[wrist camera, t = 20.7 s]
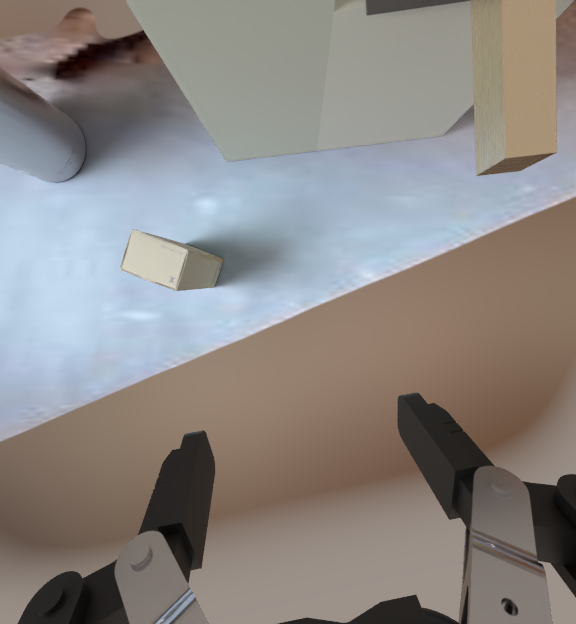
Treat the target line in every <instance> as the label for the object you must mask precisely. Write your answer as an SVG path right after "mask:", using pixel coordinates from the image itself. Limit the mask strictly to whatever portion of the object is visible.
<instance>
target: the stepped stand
mask: <svg viewBox="0 0 576 624" xmlns="http://www.w3.org/2000/svg"><path fill="white" fill-rule="evenodd" d="M125 1H126V3H127V4H128V6H129V7H130V9H131V10H132V12H133V14H134V15H135V17H136V18H137V20H138V21H139V23H140V25H141V26H142V28H143V30H144V31H145V33H146V35H147V36H148V38H149V39H150V41H151V43H152V44H153V46H154V47H155V49H156V51H157V52H158V54H159V55H160V57H161V59H162V60H163V62H164V63H165V65H166V66H167V68H168V70H169V71H170V73H171V74H172V76H173V78H174V79H175V81H176V82H177V84H178V86H179V87H180V89H181V90H182V92H183V94H184V95H185V97H186V98H187V100H188V102H189V103H190V105H191V106H192V108H193V110H194V111H195V113H196V114H197V116H198V118H199V119H200V121H201V122H202V124H203V126H204V127H205V129H206V130H207V132H208V134H209V135H210V137H211V138H212V140H213V142H214V143H215V145H216V146H217V148H218V150H219V151H220V153H221V154H222V156H223V158H224V159H225V161H226V162H230V161H239V160H247V159H255V158H264V157H272V156H280V155H289V154H297V153H305V152H314V151H322V150H330V149H339V148H347V147H355V146H363V145H372V144H380V143H388V142H397V141H405V140H413V139H422V138H430V137H438V136H443V135H444V134H445V133H446V132H447V131H448V130H449V129H450V128H451V127H452V126H453V125H454V124H455V123H456V122H457V121H458V119H459V118H460V117H461V116H462V115H463V114H464V113H465V112H466V111H467V110H468V109H469V108H470V107H471V106H472V105H473V104H474V90H473V58H472V26H471V0H125ZM573 1H574V0H556V19H557V18H558V17H559V16H560V15H561V14H562V13H563V12H564V11H565V10H566V9H567V7H568V6H569V5H570V4H571V3H572V2H573Z"/></svg>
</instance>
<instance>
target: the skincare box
mask: <svg viewBox="0 0 576 624" xmlns="http://www.w3.org/2000/svg"><path fill="white" fill-rule="evenodd" d="M223 260H224V259H222V258H220V257H217V256H215V255H212V254H210V253H207V252H205V251H202V250H200V249H197V248H194V247H192V246H189V245H186V244H183V243H180V242H176V241H173V240H169V239H166V238H162V237H159V236H155V235H152V234H148V233H144V232H141V231H137V230H134V229H133V230H132V231H131V234H130V237H129V240H128V243H127V246H126V250H125V253H124V256H123V259H122V263H121V266H120V269H121V270H122V271H124V272H127V273H129V274H131V275H134V276H137V277H139V278H142V279H144V280H147V281H149V282H152V283H155V284H158V285H160V286H163V287H166V288H169V289H172V290H174V291H180V290H191V289H203V288H214V287H215V284H216V281H217V279H218V276H219V273H220V270H221V267H222V264H223Z"/></svg>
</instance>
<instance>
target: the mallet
mask: <svg viewBox="0 0 576 624" xmlns="http://www.w3.org/2000/svg"><path fill="white" fill-rule="evenodd" d="M471 26H472V58H473V90H474V121H475V153H476V176H480V175H489V174H498V173H506V172H515V171H521V170H523V169H525V168H527V167H529V166H531V165H533V164H535V163H537V162H539V161H541V160H543V159H545V158H547V157H549V156H551V155H553V154H555V153H557V117H556V0H471Z"/></svg>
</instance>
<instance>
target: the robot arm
mask: <svg viewBox="0 0 576 624" xmlns="http://www.w3.org/2000/svg"><path fill="white" fill-rule="evenodd" d="M85 151H86V147H85V140H84V136H83V133H82V131H81V130H80V128H79V126H78V125H77V124H76V122H75V121H74V120H73V119H71V118H70V117H69V116H68V115H66V114H65V113H63V112H62V111H60V110H59V109H58V108H56V107H55V106H53V105H52V104H51V103H49V102H48V101H47V100H45V99H44V98H42V97H41V96H40V95H38V94H37V93H35V92H34V91H33V90H31V89H30V88H28V87H27V86H26V85H24V84H23V83H21V82H20V81H18V80H17V79H16V78H14V77H13V76H11V75H10V74H9V73H7V72H6V71H4V70H3V69H2V68H0V163H1V164H3V165H6V166H8V167H11V168H13V169H16V170H18V171H21V172H23V173H26V174H28V175H31V176H33V177H36V178H39V179H41V180H44V181H47V182H56V183H57V182H62V181H65V180H68V179H70V178H71V177H72V176H74V175H75V174H76V173H77V172H78V171H79V169H80V168H81V166H82V164H83V161H84V158H85ZM398 429H399V433H400V436H401V438H402V440H403V442H404V444H405V445H406V447H407V449H408V450H409V452H410V454H411V456H412V457H413V459H414V460H415V462H416V464H417V466H418V467H419V469H420V471H421V472H422V474H423V476H424V477H425V479H426V481H427V483H428V484H429V486H430V488H431V489H432V491H433V493H434V494H435V496H436V498H437V500H438V501H439V503H440V505H441V506H442V508H443V510H444V511H445V513H446V515H447V516H448V518H449V519H450V520H451V519H456V518H461V519H462V521H463V522H464V524H465V525H466V530H465V545H464V561H463V577H462V591H461V601H460V611H459V623H458V622H457V621H455V620H453V619H451V618H450V617H448V616H446V615H444V614H441V613H439V612H437V611H433V610H430V609H427V608H421V606H420V603H419V601H418V598H417V596H416V595H412V596H407V597H402V598H398V599H393V600H388V601H384V602H380V603H379V604H377V605H375V606H374V607H372V608H371V609H369V610H367V611H366V612H364V613H363V614H361V615H360V616H358V617H356V618H355V619H353V620H352V621H350V622H348V623H339V622H333V621H326V620H319V619H312V618H303V619H298V620H293V621H288V622H284V623H279V624H553V622H552V615H551V608H550V601H549V594H548V586H547V579H546V573H545V569H544V567H543V565H542V564H541V563H538V561H543V562H548V563H551V564H552V566H553V567H554V568H555V570H556V571H557V573H558V574H559V575H560V577H561V578H562V579H563V581H564V582H565V583H566V585H567V586H568V587H569V589H570V590H571V592H572V593H573V594H574V595H575V597H576V475H575V474H570V475H564V476H562V477H560V479H559V480H558V482H557V486H554V485H546V484H536V483H529V482H523V481H521V480H520V479H519V478H518V477H517V476H515V475H514V474H512V473H511V472H509V471H507V470H505V469H502V468H500V467H496V466H494V465H493V464H492V462H491V461H490V460H489V459H488V458H487V457H486V456H485V454H484V453H483V452H482V451H481V450H480V449H479V448H478V447H477V445H476V444H475V443H474V442H473V441H472V440H471V438H470V437H469V436H468V435H467V434H466V433H465V432H463V429H462V428H461V427H460V426H459V425H458V424H457V423H456V422H455V420H454V419H453V418H452V417H451V415H450V414H449V413H448V412H447V411H446V410H444V409H443V408H441V407H439V406H438V405H436V404H435V403H432V404H427V403H426V401H425V400H424V399H423V398H422V396H421V395H420V394H419V393H412V394H406V395H401V396H399V397H398ZM214 477H215V461H214V456H213V453H212V450H211V447H210V444H209V441H208V438H207V435H206V432H205V431H198V432H193V433H187V434H185V435H184V437H183V440H182V444H181V447H180V449H176V450H172V451H171V452H170V454H169V455H168V456H167V458H166V459H165V461H164V462H163V464H162V467H161V470H160V473H159V478H158V479H157V482H156V484H155V489H154V490H153V494H152V496H151V499H150V502H149V505H148V508H147V511H146V514H145V517H144V520H143V523H142V526H141V528H140V531H139V534H138V536H137V537H135V538H134V539H132V540H131V541H130V542H129V543H128V544H127V546H125V548H124V549H123V550H122V552H121V553H120V555H119V557H118V559H117V560H116V561H115V562H113V563H111V564H109V565H107V566H105V567H103V568H102V569H100V570H98V571H96V572H94V573H92V574H90V575H88V576H87V577H85V578H82V577H81V575H80V574H79V573H77V572H74V571H69V572H65V573H62V574H60V575H58V576H56V577H54V578H53V579H51V580H50V581H49V582H47V583H46V584H45V585H44V586H43V587H42V588H41V589H40V590H39V591H38V592H37V593H36V594H35V595H34V597H33V598H32V599H31V601H30V602H29V604H28V605H27V607H26V609H25V611H24V612H23V614H22V616H21V618H20V620H19V622H18V624H209V623H208V621H207V619H206V617H205V615H204V613H203V611H202V609H201V608H200V606H199V604H198V602H197V600H196V598H195V596H194V594H193V592H192V591H191V589H190V587H189V585H188V582H189V577H190V571H191V570H194V569H199V568H201V567H202V560H203V553H204V546H205V539H206V533H207V526H208V519H209V512H210V505H211V498H212V491H213V483H214Z"/></svg>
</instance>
